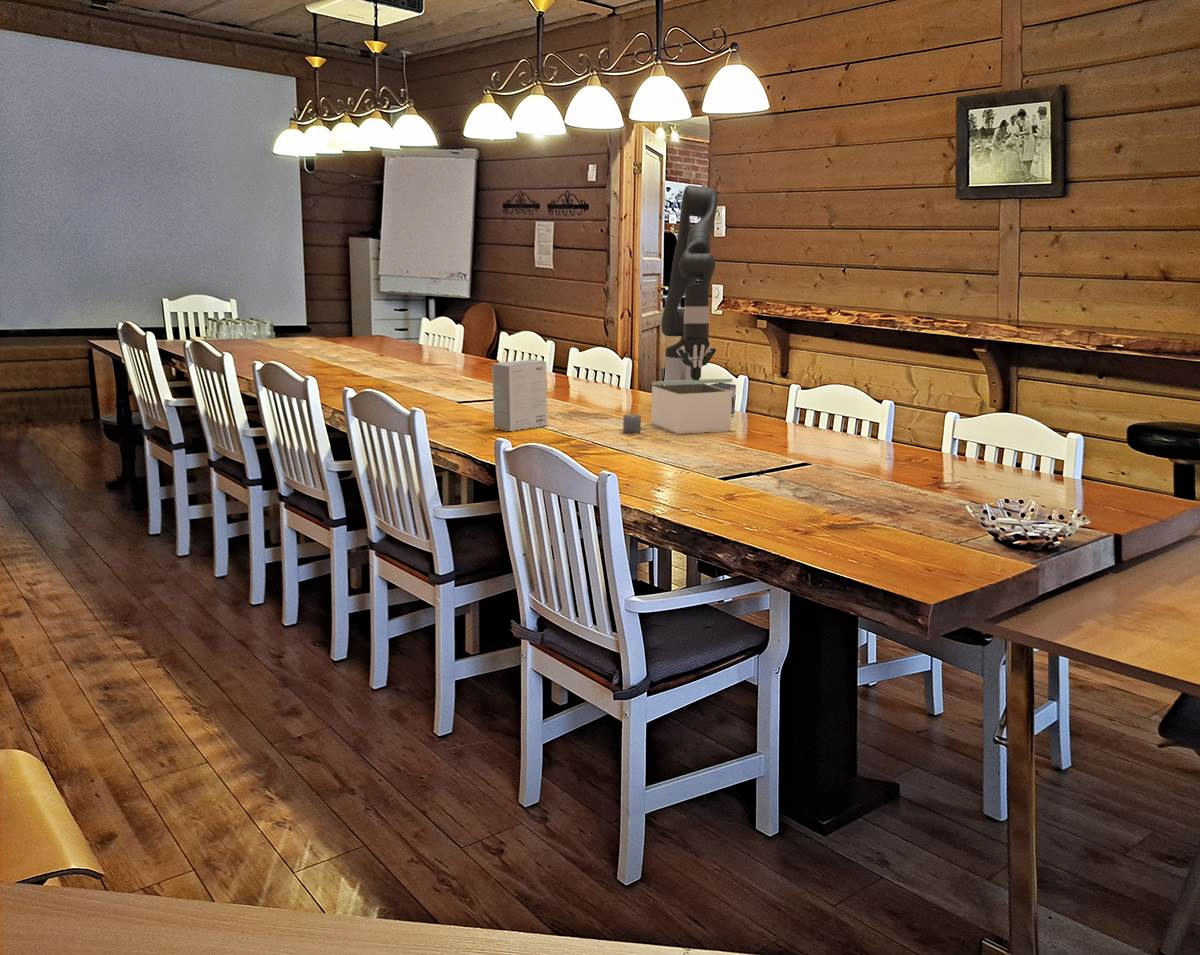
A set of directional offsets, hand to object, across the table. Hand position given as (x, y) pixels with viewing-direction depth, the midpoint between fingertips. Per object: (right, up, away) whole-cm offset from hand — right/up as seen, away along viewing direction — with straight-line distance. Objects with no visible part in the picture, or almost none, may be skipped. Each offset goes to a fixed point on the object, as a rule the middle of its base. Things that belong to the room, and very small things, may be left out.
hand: (695, 379), depth 319 cm
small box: (+10, -10, +26) cm, 30 cm away
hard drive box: (-53, -14, +3) cm, 55 cm away
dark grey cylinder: (-19, -16, -3) cm, 25 cm away
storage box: (-1, -14, +6) cm, 15 cm away
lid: (-1, -1, +3) cm, 3 cm away
